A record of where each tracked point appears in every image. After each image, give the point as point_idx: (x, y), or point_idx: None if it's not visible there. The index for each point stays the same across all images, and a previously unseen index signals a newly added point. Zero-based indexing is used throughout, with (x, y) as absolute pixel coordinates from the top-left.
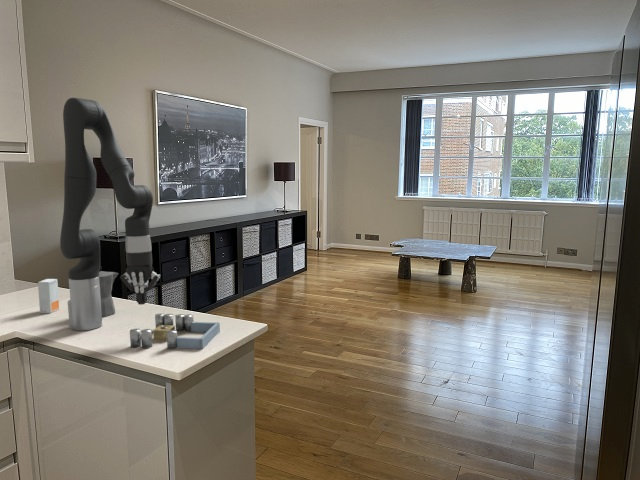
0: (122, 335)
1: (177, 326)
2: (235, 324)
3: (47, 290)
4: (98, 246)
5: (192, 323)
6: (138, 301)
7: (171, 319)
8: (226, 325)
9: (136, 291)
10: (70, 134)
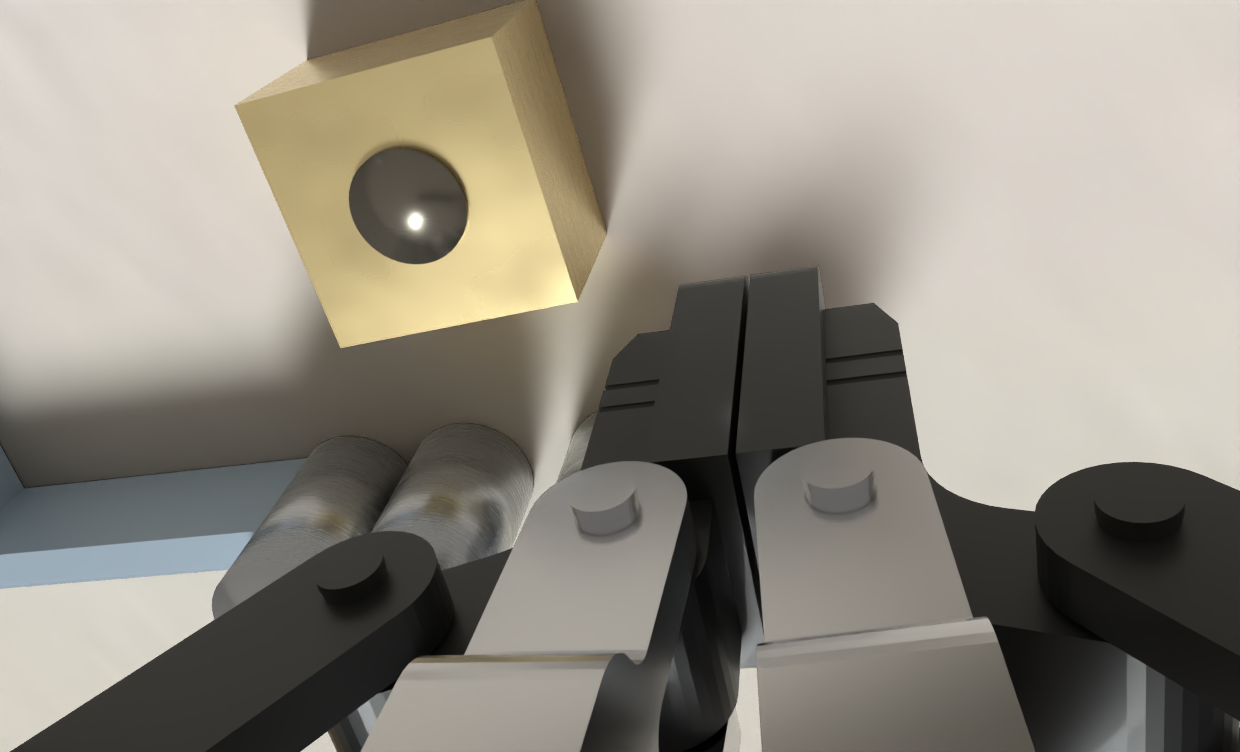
0: (1220, 62)
1: (454, 463)
2: (42, 730)
3: None
4: None
5: (242, 524)
6: (803, 296)
7: None
8: (99, 692)
9: (850, 465)
10: None
